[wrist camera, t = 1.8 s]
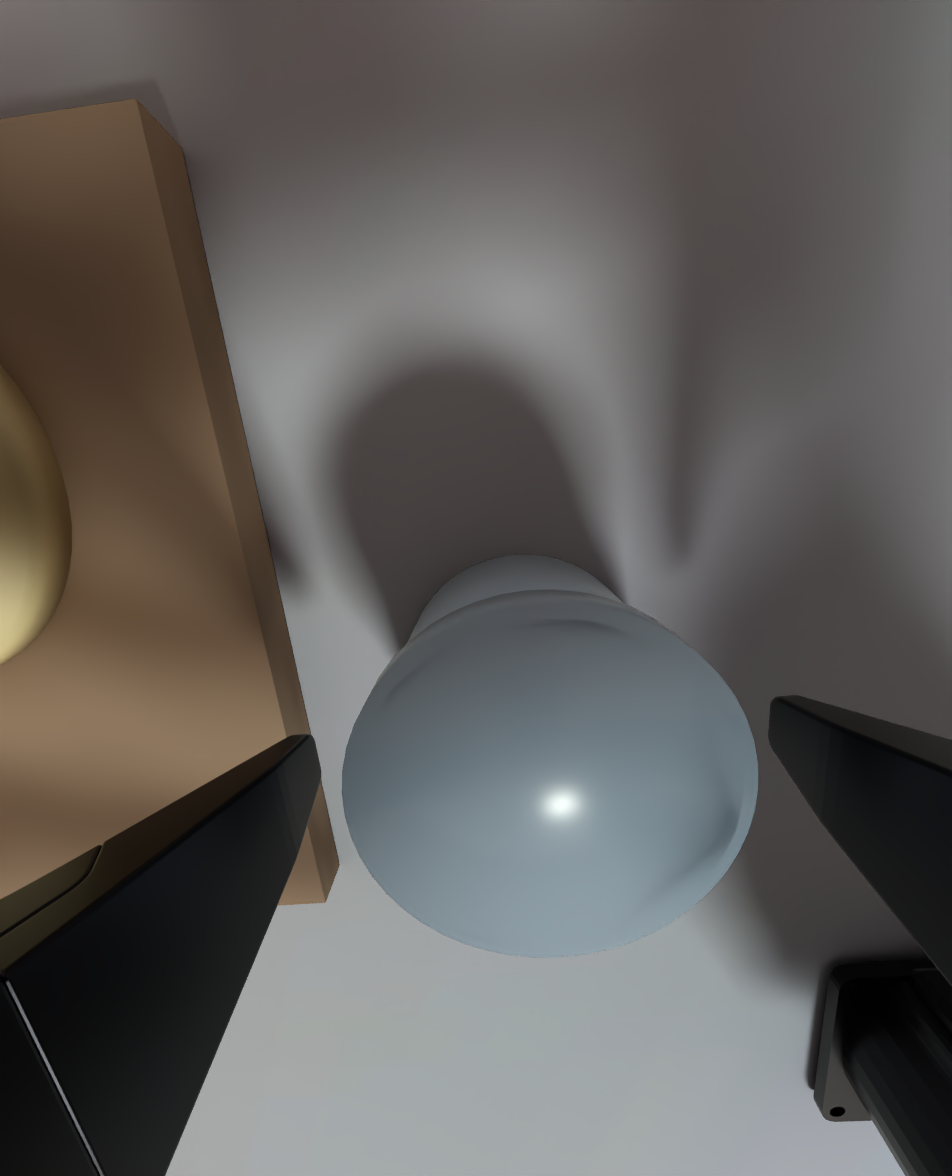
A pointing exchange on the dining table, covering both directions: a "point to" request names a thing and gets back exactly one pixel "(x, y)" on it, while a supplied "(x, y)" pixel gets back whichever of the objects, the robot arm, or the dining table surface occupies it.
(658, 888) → the cap
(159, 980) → the robot arm
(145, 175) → the base
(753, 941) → the dining table surface
